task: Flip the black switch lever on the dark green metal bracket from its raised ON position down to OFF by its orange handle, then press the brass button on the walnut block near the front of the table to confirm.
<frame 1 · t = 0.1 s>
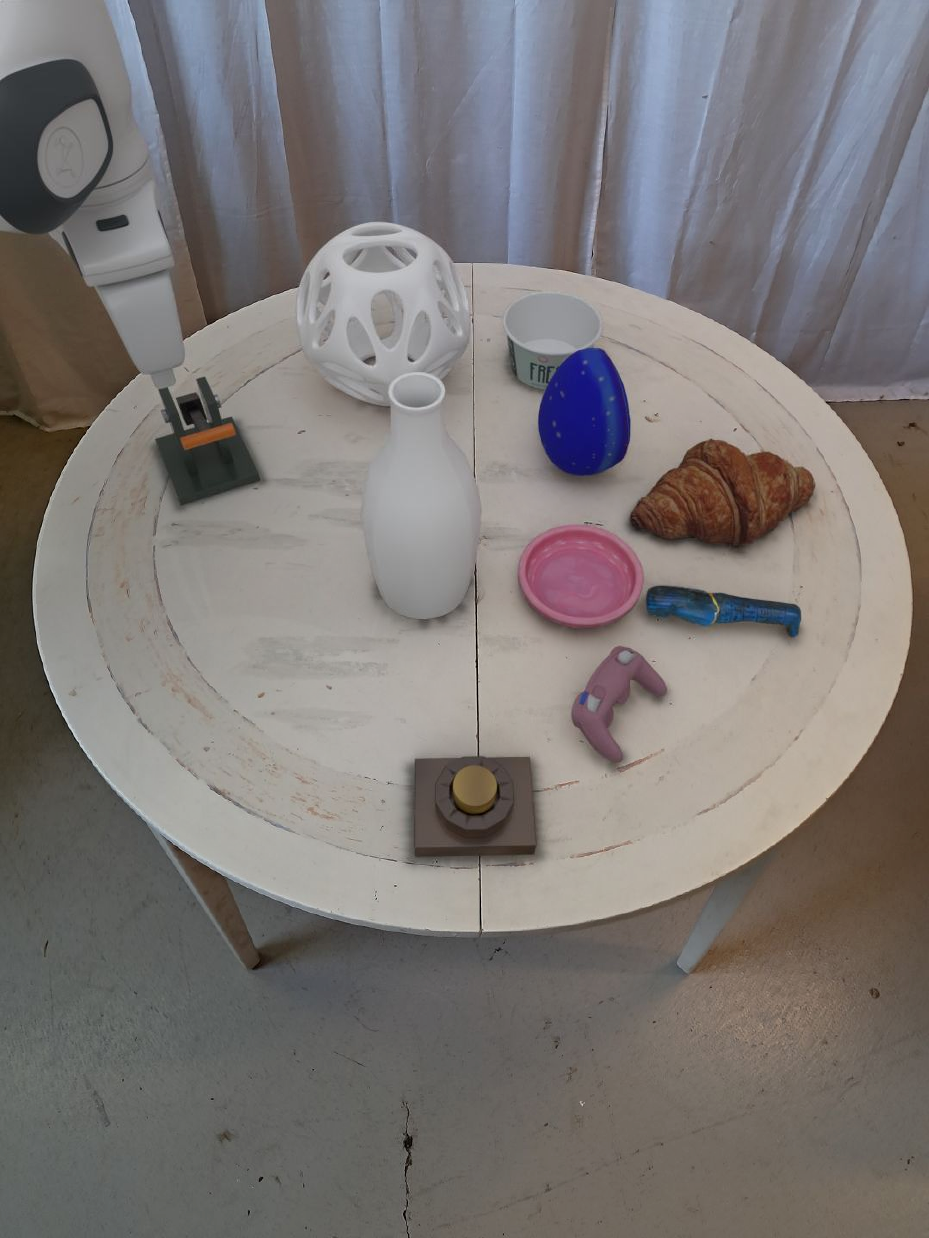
hand: (150, 349, 77), 22 cm above the table, tool pointing down, fingers open, 8 cm apart
switch bracket: (208, 463, 99), on the table
button block: (473, 810, 76), on the table
switch lever: (198, 420, 89), point 10 cm above the table, hinge at 25.0°
saucer: (577, 590, 90), on the table
confirm button: (474, 789, 72), point 4 cm above the table, slide at 0.1 cm
pastry: (721, 509, 97), on the table
ornament: (576, 462, 101), on the table
food container: (547, 366, 110), on the table
bottle: (423, 587, 90), on the table
decorative ball: (388, 379, 108), on the table
video game controller: (614, 715, 82), on the table
figurine: (717, 619, 88), on the table
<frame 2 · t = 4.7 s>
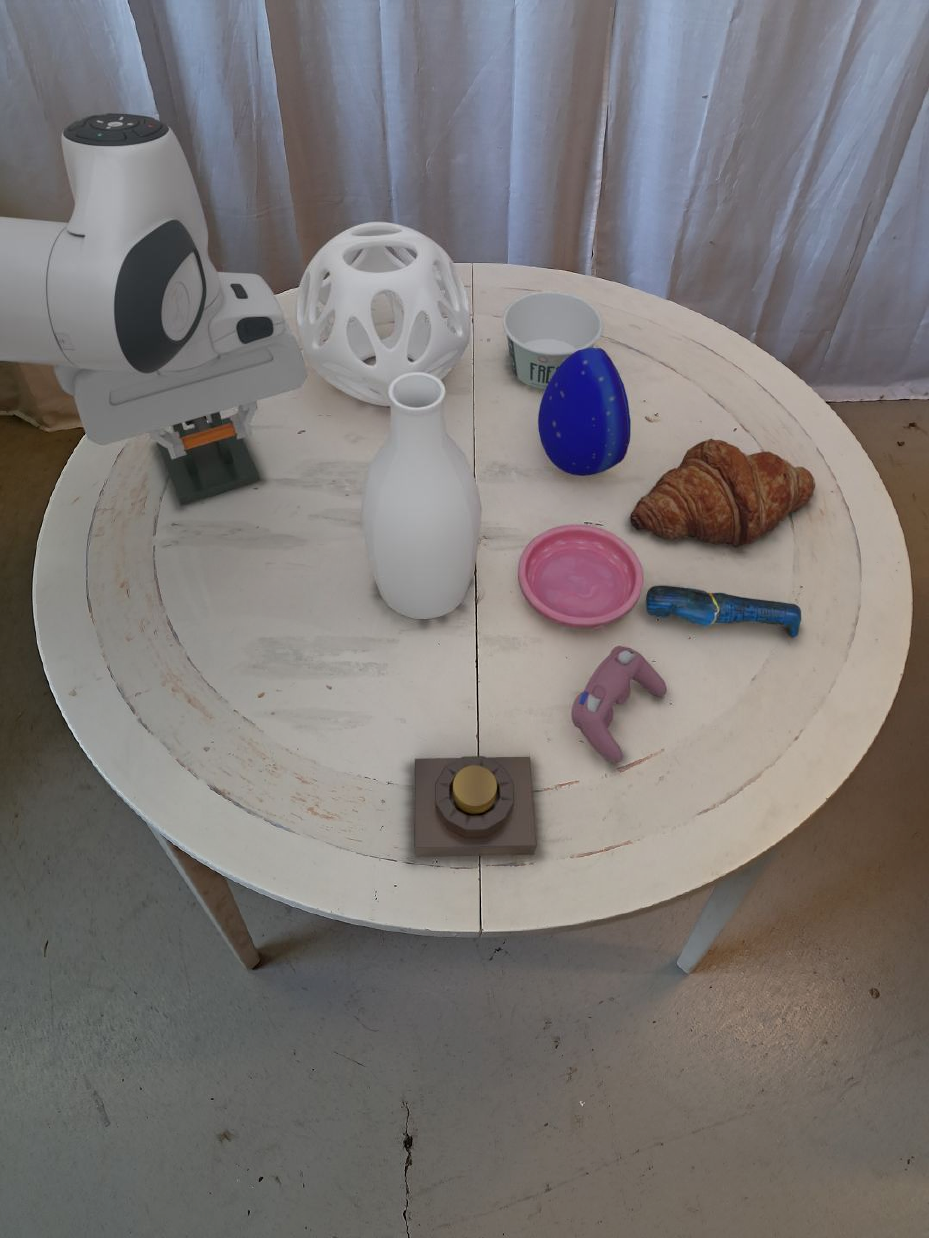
hand: (210, 443, 85), 12 cm above the table, tool pointing down, fingers closed on switch lever, 5 cm apart
switch lever: (198, 420, 89), point 10 cm above the table, hinge at 25.0°, touching gripper
everything else where it was.
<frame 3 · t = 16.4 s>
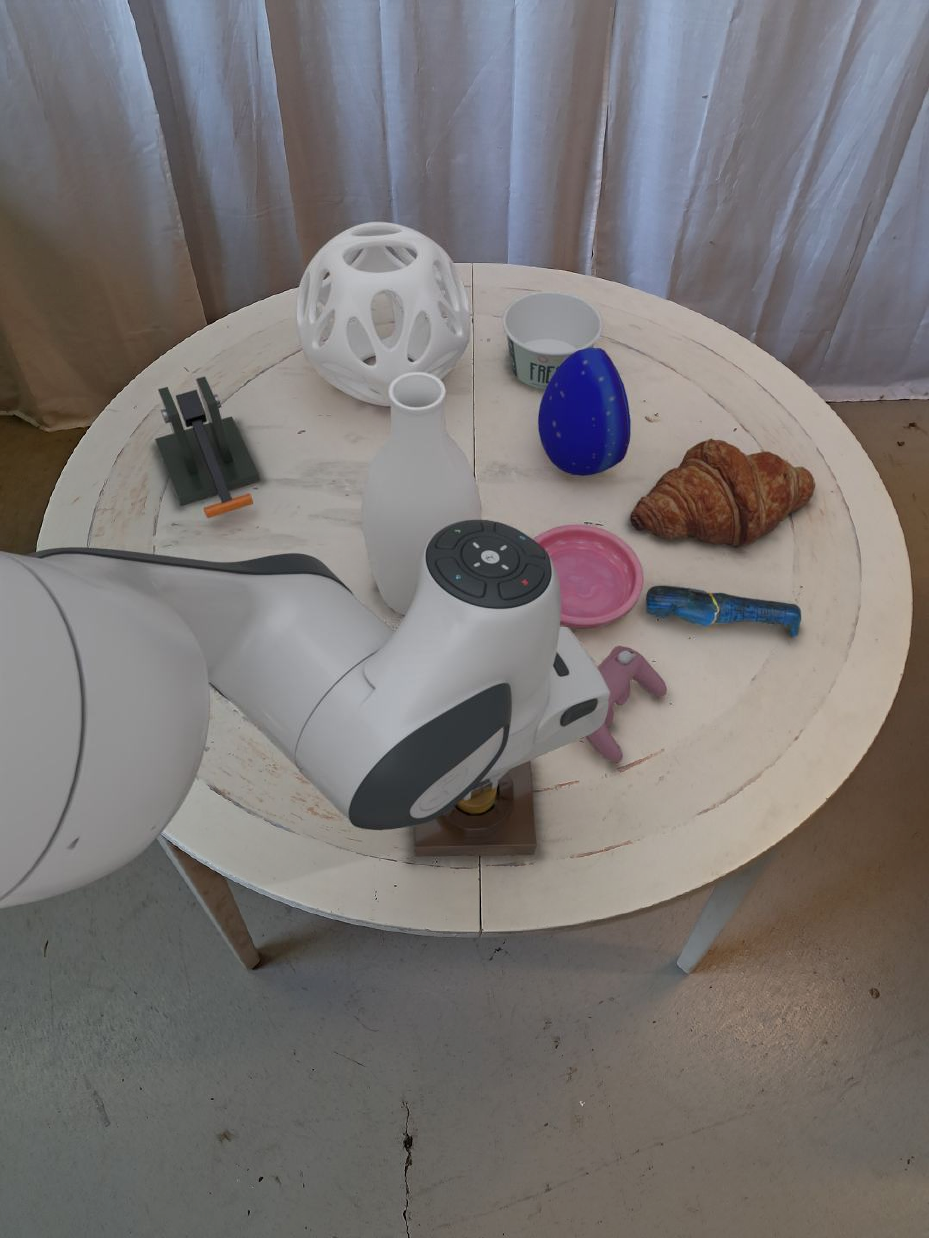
hand: (476, 786, 72), 5 cm above the table, tool pointing down, fingers closed, pressing on confirm button
switch lever: (208, 453, 93), point 5 cm above the table, hinge at -30.7°
confirm button: (474, 790, 72), point 4 cm above the table, slide at -0.1 cm, touching gripper
everything else where it was.
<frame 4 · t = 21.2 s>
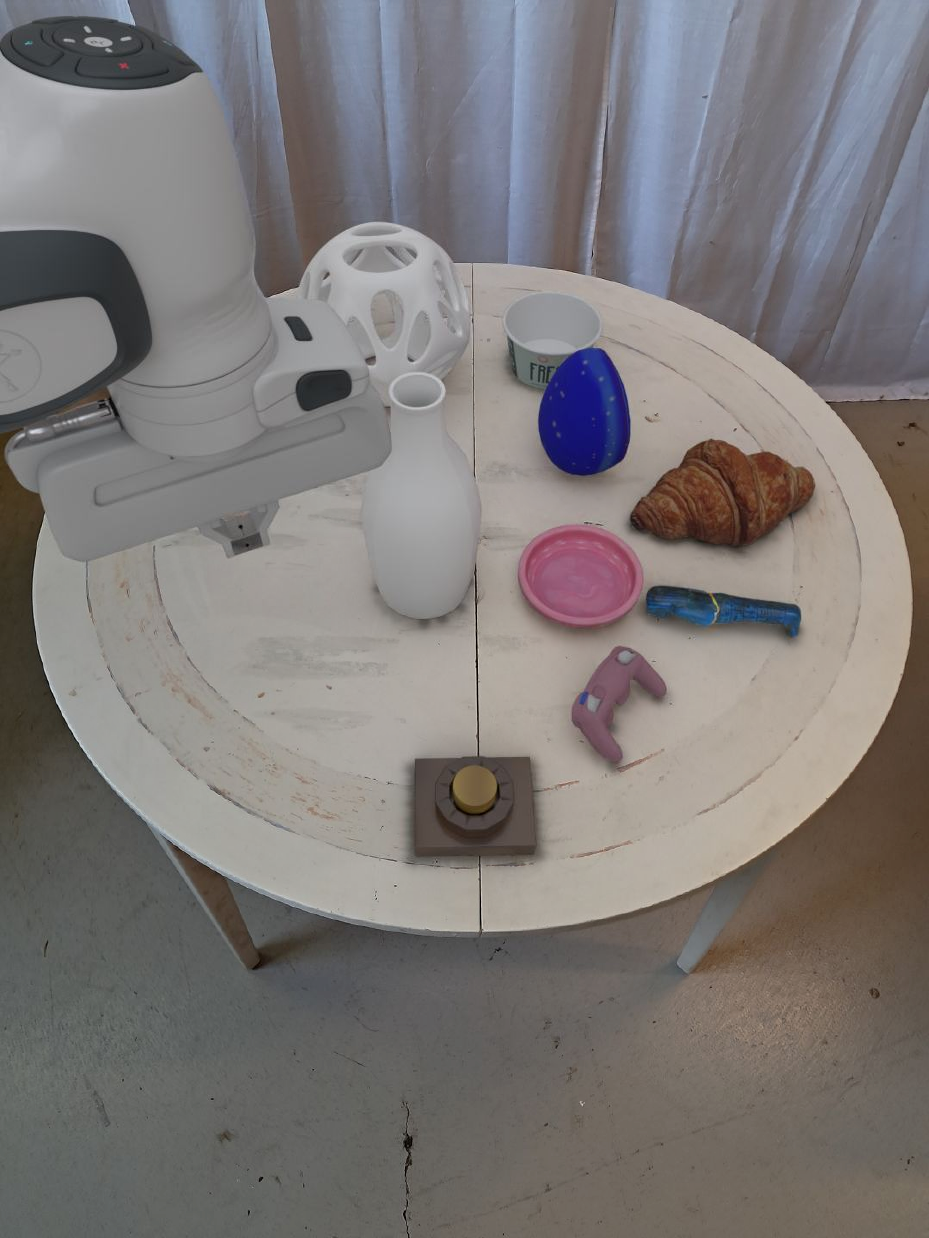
hand: (245, 544, 58), 27 cm above the table, tool pointing down, fingers closed
confirm button: (474, 789, 72), point 4 cm above the table, slide at 0.1 cm
everything else where it was.
at the end: switch lever at -31° (first picture: +25°); confirm button pushed in 1.1 cm at the most during the clip, back to where it started at the end; confirm button slide at 0.1 cm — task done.
